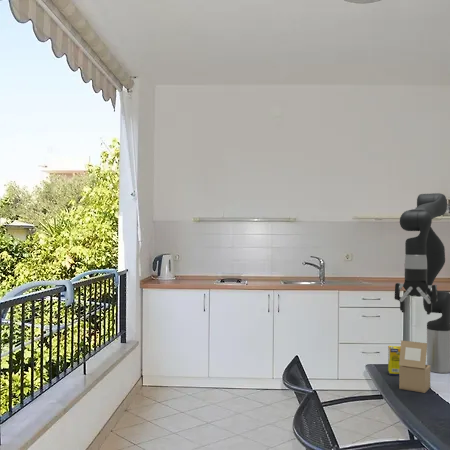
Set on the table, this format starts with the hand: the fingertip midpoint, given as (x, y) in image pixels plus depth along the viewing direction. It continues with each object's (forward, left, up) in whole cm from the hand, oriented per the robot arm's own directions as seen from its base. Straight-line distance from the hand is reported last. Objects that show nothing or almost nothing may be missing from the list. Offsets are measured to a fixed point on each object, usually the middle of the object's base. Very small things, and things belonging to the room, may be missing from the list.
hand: (415, 313), depth 185 cm
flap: (-5, -2, -16) cm, 16 cm away
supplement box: (-25, -13, -29) cm, 40 cm away
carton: (-8, -2, -28) cm, 29 cm away
